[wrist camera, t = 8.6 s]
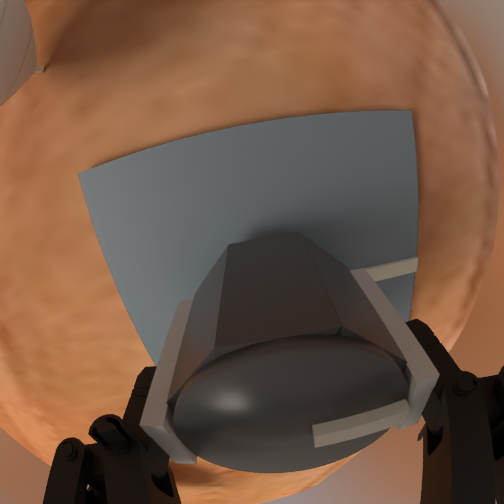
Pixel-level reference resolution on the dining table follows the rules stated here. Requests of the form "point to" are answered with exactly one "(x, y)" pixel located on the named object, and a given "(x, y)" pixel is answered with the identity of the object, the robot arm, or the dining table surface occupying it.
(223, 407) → the knob
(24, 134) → the dining table surface
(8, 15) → the spinning top
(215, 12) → the dining table surface
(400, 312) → the shaft plate
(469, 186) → the dining table surface
